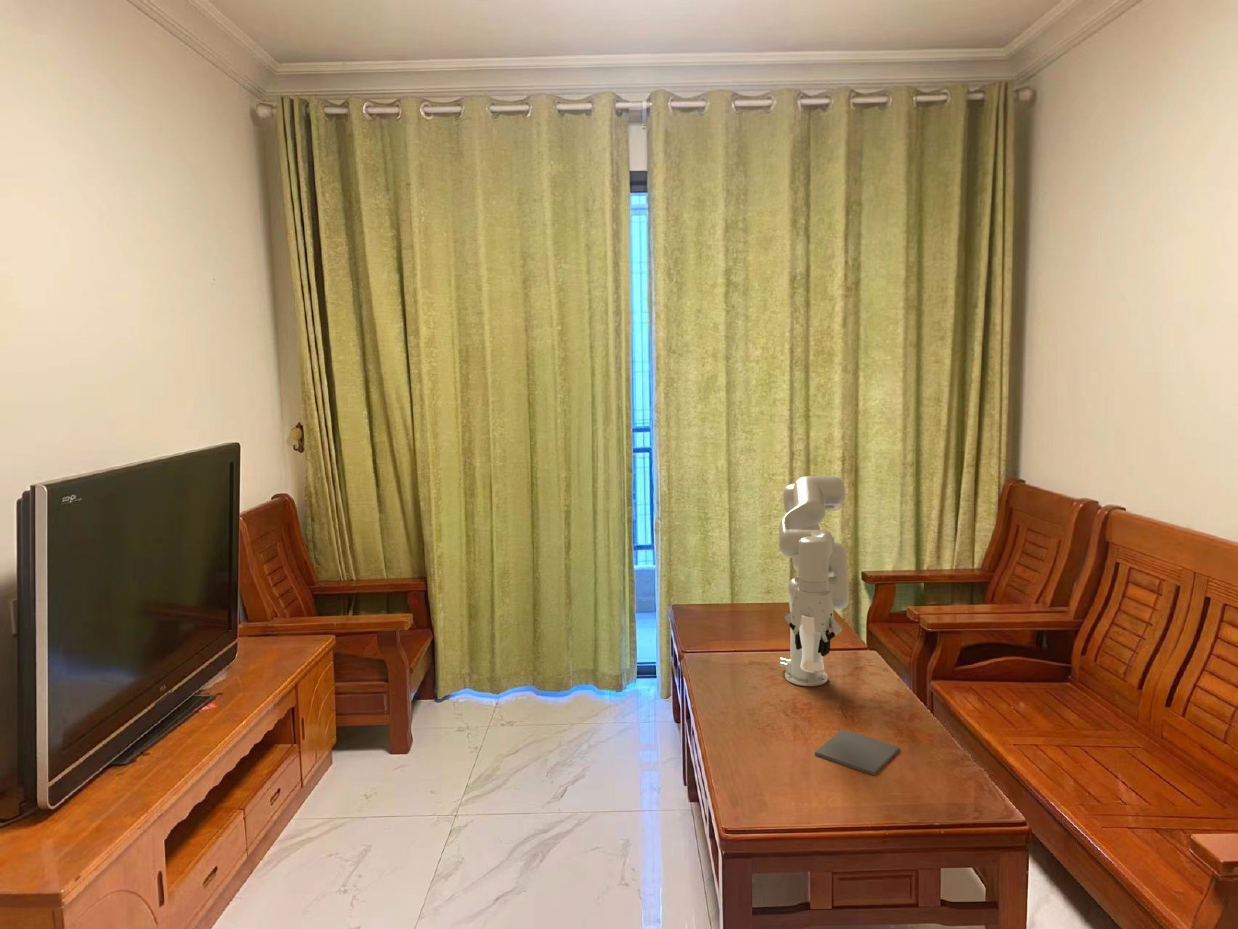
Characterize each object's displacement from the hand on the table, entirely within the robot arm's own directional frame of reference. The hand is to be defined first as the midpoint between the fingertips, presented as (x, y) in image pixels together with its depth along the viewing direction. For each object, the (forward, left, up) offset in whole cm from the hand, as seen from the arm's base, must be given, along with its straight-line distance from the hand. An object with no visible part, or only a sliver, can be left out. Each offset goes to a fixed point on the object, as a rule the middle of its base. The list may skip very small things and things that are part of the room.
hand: (812, 650), depth 202 cm
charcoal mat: (+15, -5, -21) cm, 26 cm away
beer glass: (0, 0, -5) cm, 5 cm away
